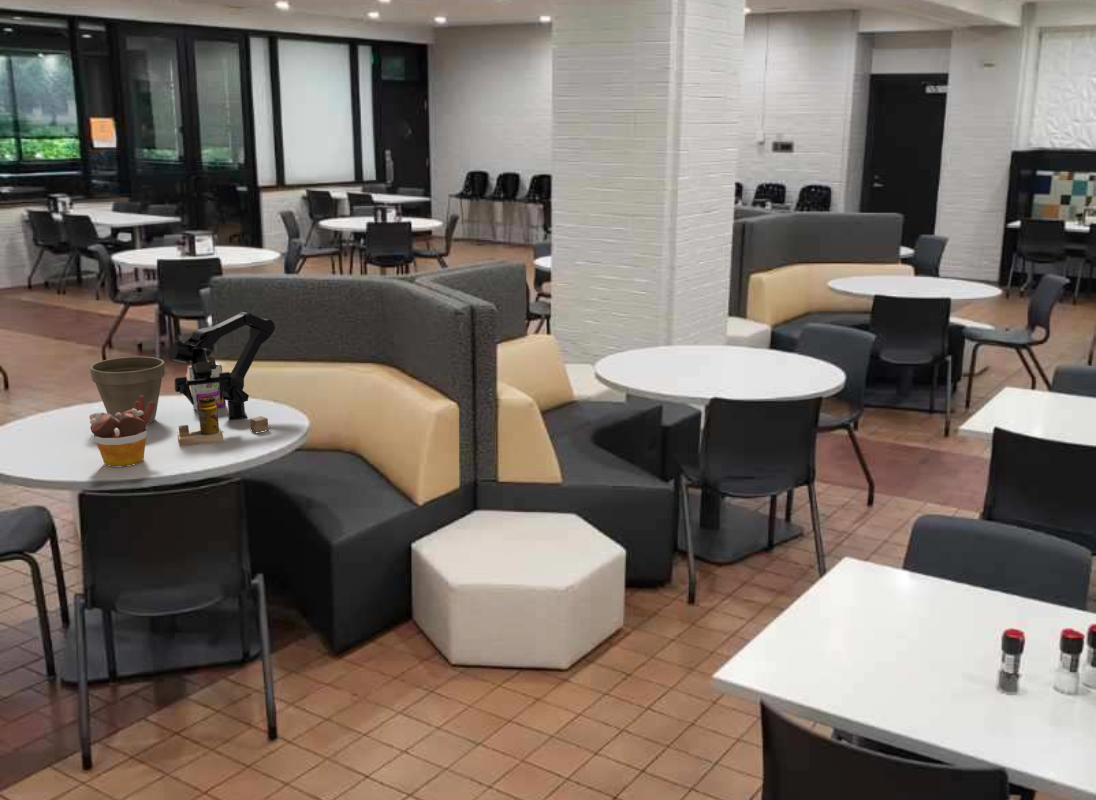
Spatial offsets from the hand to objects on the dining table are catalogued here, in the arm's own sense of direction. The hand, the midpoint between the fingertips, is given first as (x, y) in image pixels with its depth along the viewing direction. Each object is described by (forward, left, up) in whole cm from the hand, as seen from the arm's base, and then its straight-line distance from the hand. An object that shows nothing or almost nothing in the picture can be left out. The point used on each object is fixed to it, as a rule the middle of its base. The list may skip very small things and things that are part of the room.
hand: (207, 402), depth 371 cm
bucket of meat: (+21, -28, -11) cm, 37 cm away
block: (+3, +16, -11) cm, 20 cm away
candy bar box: (-37, +3, -11) cm, 39 cm away
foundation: (+7, -4, -11) cm, 13 cm away
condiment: (+8, -1, -9) cm, 12 cm away
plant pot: (-28, -24, -11) cm, 38 cm away
